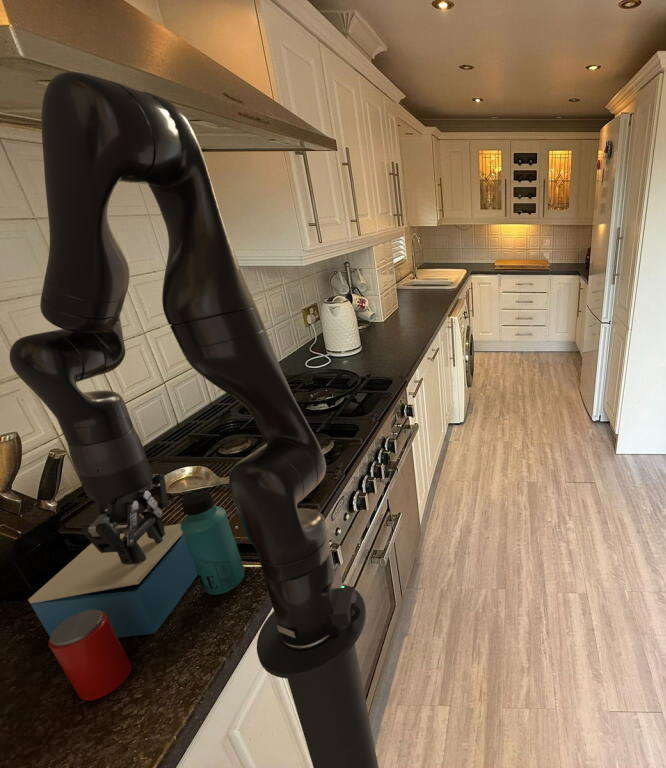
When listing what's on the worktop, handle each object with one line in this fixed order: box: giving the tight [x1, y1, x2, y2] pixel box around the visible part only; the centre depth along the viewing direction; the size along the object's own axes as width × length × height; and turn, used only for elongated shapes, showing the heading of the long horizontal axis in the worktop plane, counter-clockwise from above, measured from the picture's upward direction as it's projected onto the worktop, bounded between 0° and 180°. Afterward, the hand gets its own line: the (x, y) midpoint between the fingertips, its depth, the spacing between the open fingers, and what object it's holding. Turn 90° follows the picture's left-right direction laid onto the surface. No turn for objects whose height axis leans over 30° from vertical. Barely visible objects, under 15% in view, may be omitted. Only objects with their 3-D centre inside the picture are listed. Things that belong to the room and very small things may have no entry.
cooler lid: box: [27, 515, 184, 604], centre depth 66 cm, size 15×13×6 cm
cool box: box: [30, 534, 199, 639], centre depth 69 cm, size 14×13×9 cm
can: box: [48, 610, 132, 702], centre depth 57 cm, size 6×6×11 cm
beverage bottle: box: [180, 490, 246, 596], centre depth 70 cm, size 6×7×20 cm
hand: (146, 548), depth 67 cm, fingers closed on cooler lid, 5 cm apart
